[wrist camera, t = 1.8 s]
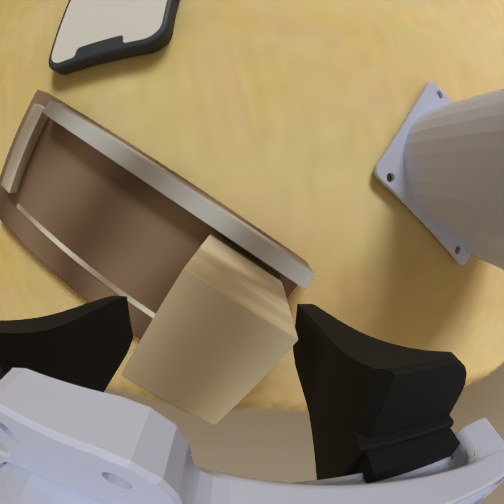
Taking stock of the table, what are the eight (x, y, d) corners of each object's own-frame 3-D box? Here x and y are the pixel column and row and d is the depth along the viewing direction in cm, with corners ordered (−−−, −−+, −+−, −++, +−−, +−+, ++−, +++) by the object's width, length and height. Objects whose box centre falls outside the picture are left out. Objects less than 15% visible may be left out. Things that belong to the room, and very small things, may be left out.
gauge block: (280, 276, 14) (298, 339, 8) (225, 345, 15) (214, 425, 9) (212, 231, 13) (183, 268, 8) (164, 307, 14) (121, 374, 9)
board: (305, 261, 15) (315, 275, 13) (217, 371, 17) (213, 395, 15) (47, 93, 12) (26, 86, 10) (1, 207, 14) (-20, 211, 12)
